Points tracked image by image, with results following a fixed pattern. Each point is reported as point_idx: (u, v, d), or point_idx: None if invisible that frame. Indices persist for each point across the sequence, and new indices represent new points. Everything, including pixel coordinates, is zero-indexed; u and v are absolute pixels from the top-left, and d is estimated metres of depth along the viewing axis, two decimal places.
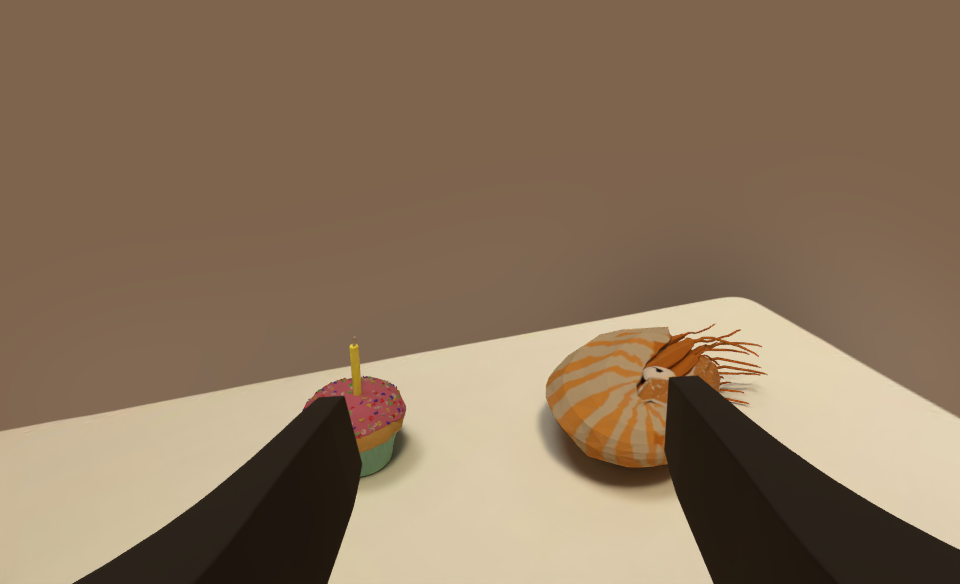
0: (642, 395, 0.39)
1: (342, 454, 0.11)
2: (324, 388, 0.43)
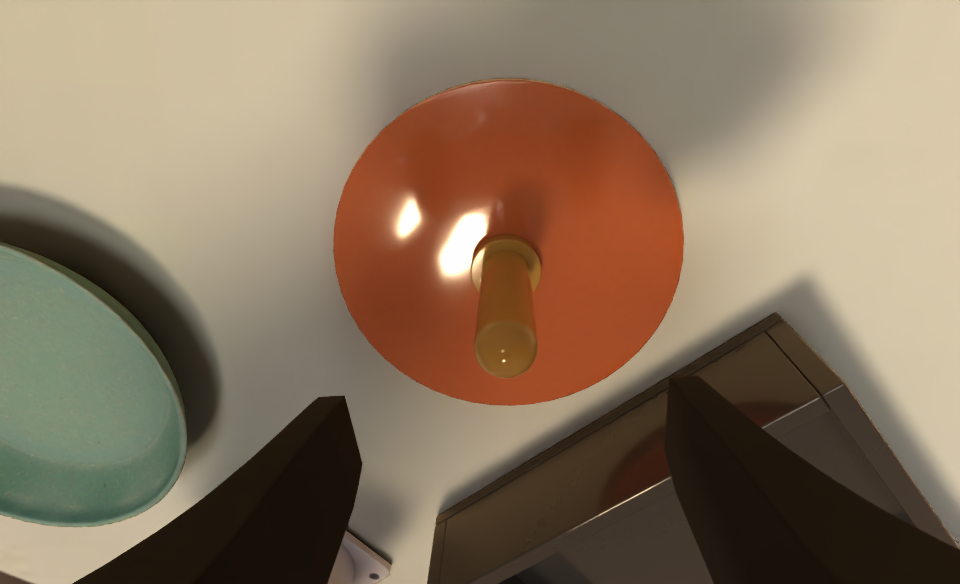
0: None
1: (342, 454, 0.11)
2: None
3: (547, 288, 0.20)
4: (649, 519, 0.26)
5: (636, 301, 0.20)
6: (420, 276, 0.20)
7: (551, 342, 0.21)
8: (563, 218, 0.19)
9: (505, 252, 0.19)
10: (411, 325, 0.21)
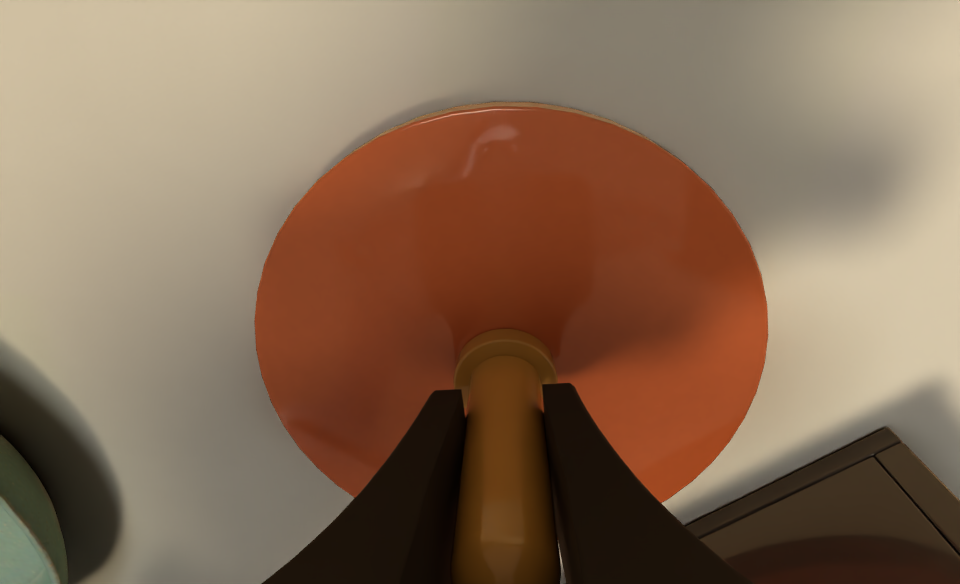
0: None
1: None
2: None
3: None
4: None
5: (693, 418, 0.14)
6: (382, 382, 0.14)
7: None
8: (590, 307, 0.13)
9: (504, 360, 0.12)
10: (372, 444, 0.15)
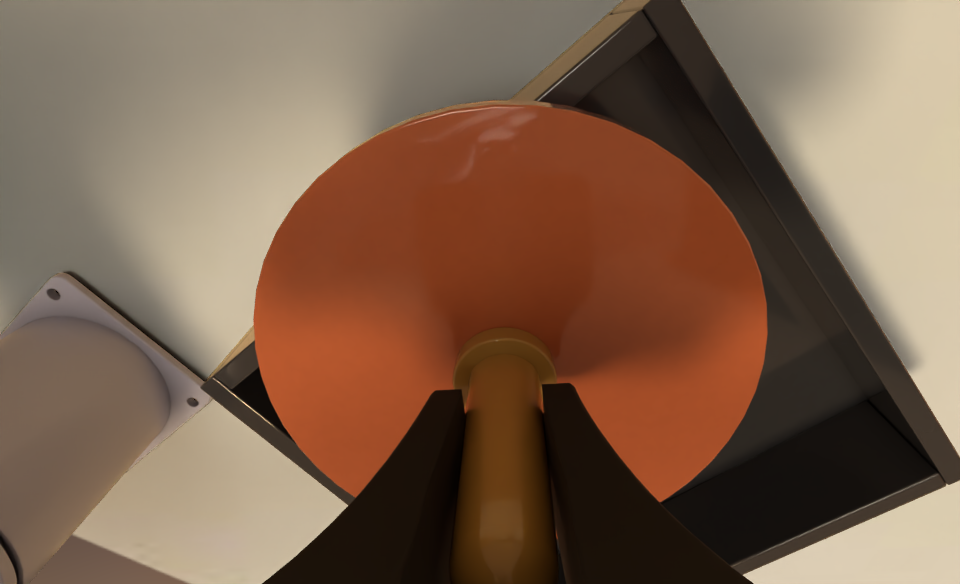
0: None
1: None
2: None
3: None
4: None
5: (692, 417, 0.14)
6: (381, 381, 0.14)
7: None
8: (590, 306, 0.13)
9: (503, 359, 0.12)
10: (371, 443, 0.15)
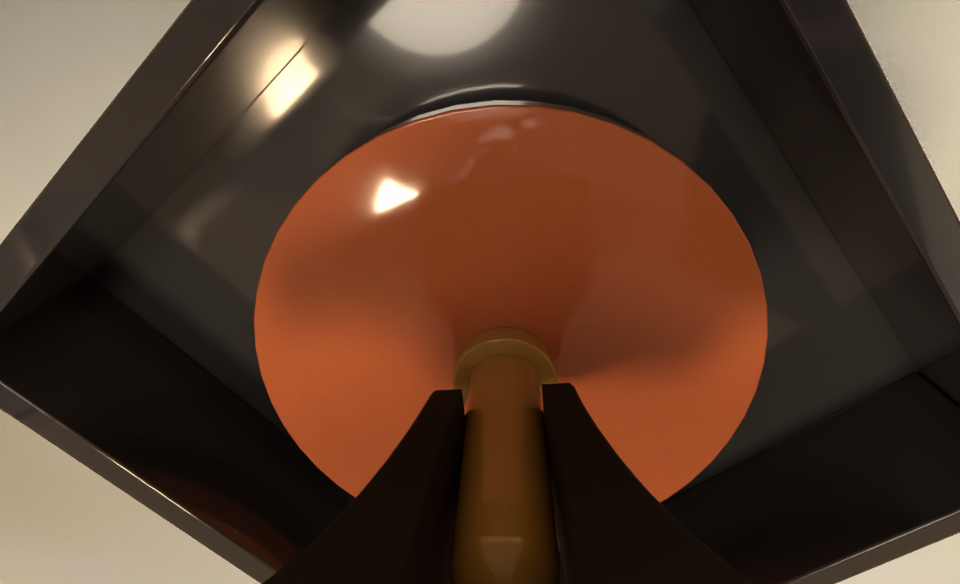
0: None
1: None
2: None
3: None
4: None
5: (692, 417, 0.14)
6: (381, 381, 0.14)
7: None
8: (590, 306, 0.13)
9: (504, 359, 0.12)
10: (371, 444, 0.15)
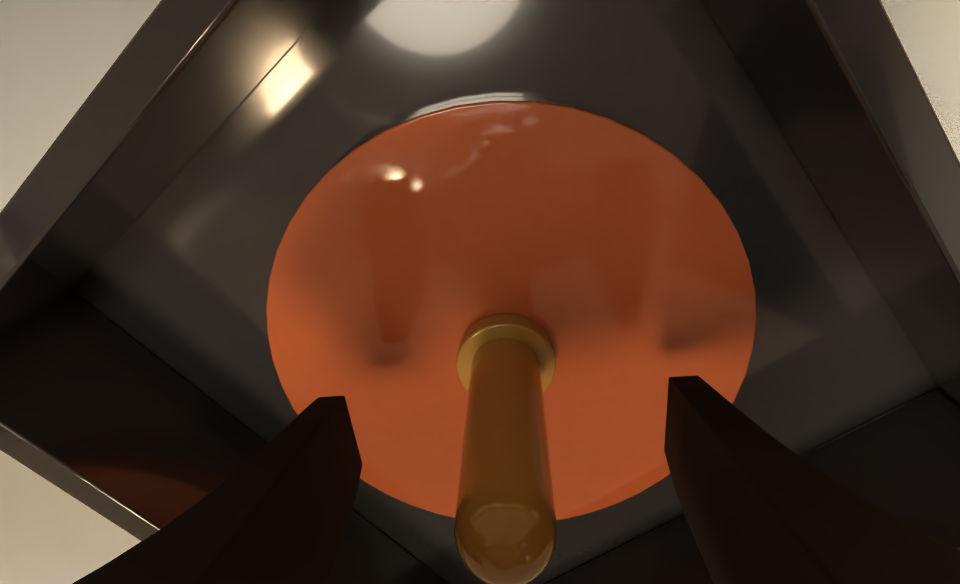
0: None
1: (342, 454, 0.11)
2: None
3: (562, 383, 0.15)
4: None
5: None
6: (388, 366, 0.15)
7: (566, 450, 0.16)
8: (587, 293, 0.13)
9: (505, 343, 0.13)
10: (378, 426, 0.16)
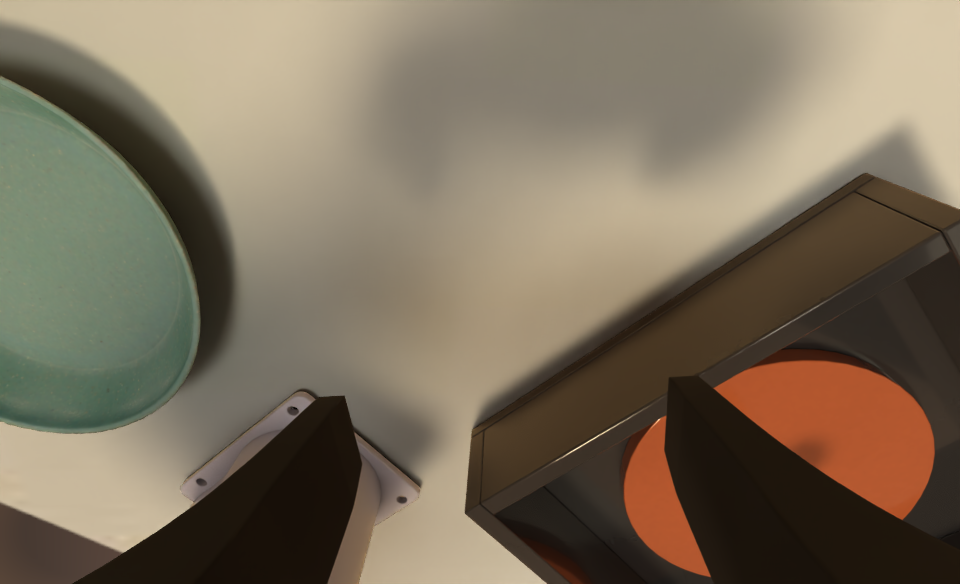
0: None
1: (342, 454, 0.11)
2: None
3: None
4: None
5: None
6: None
7: None
8: (833, 453, 0.22)
9: None
10: (678, 523, 0.25)
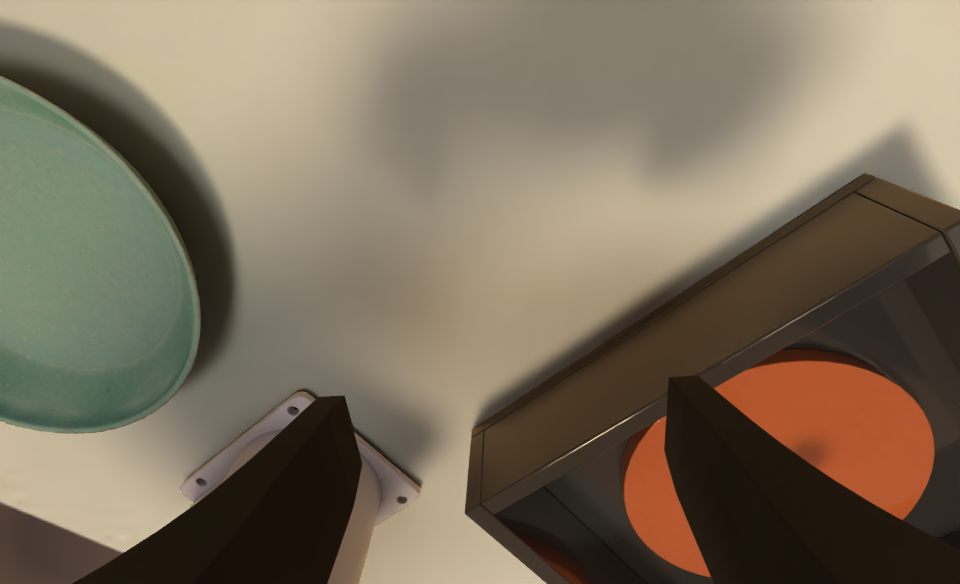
0: None
1: (342, 454, 0.11)
2: None
3: None
4: None
5: None
6: None
7: None
8: (833, 453, 0.22)
9: None
10: (678, 523, 0.25)
